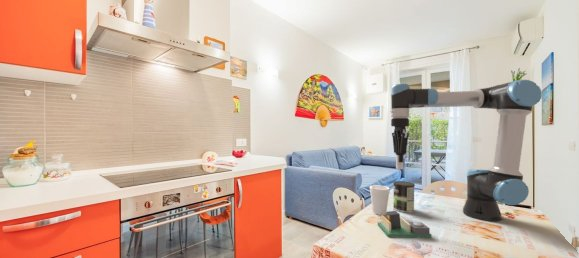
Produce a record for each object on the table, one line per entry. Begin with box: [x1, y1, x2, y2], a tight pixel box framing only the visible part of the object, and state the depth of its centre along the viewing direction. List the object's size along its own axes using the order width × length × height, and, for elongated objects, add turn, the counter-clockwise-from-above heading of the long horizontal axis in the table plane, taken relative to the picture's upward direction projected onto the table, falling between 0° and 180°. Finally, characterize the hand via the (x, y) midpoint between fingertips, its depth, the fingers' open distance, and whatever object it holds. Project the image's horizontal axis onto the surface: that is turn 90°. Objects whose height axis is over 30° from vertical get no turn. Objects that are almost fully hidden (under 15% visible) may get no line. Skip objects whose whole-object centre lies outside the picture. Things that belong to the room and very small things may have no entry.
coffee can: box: [392, 180, 416, 214], centre depth 131 cm, size 10×10×14 cm
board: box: [377, 215, 432, 238], centre depth 103 cm, size 17×12×5 cm
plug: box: [385, 210, 401, 229], centre depth 104 cm, size 4×4×6 cm
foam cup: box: [369, 184, 391, 216], centre depth 126 cm, size 10×9×13 cm
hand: (399, 168), depth 114 cm, fingers closed
